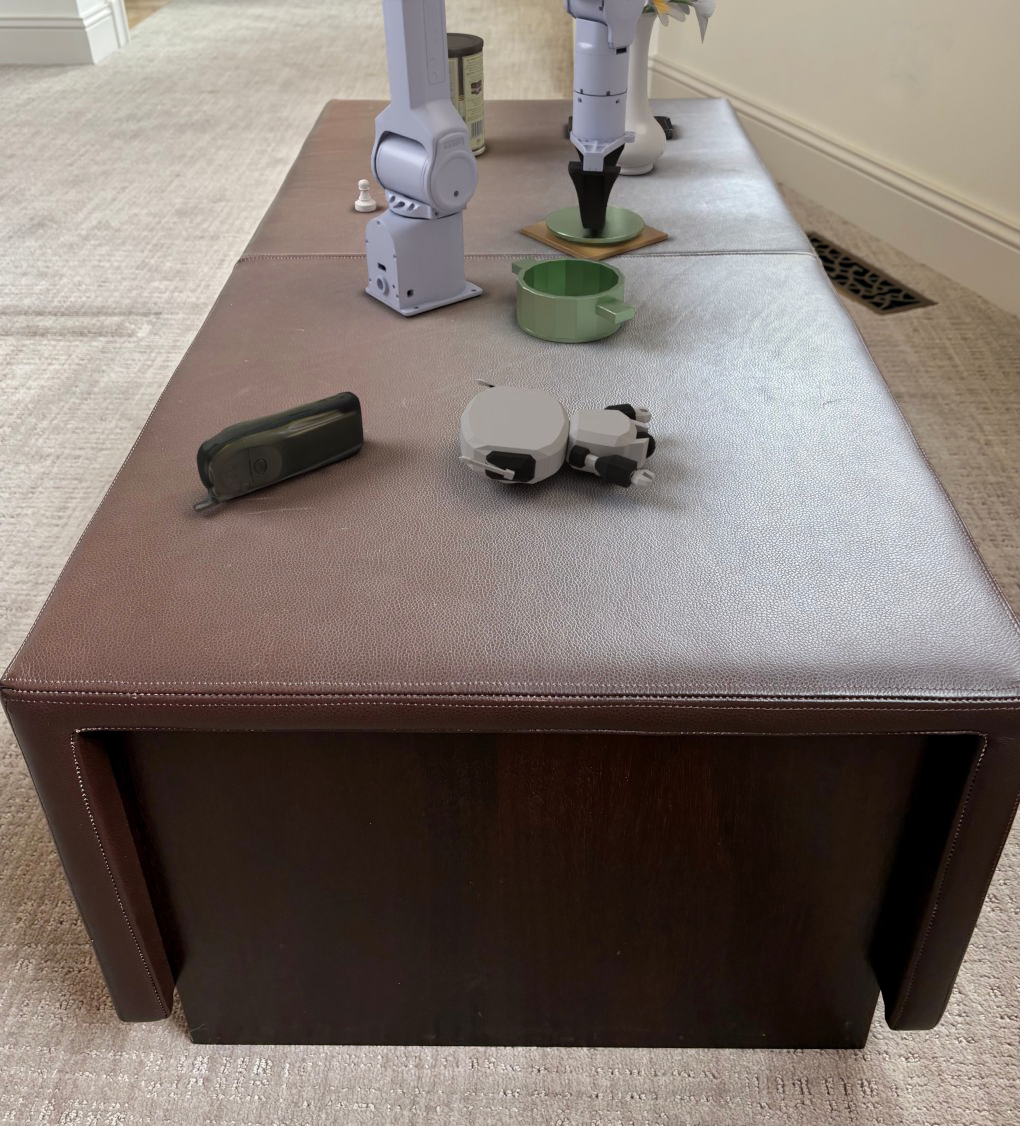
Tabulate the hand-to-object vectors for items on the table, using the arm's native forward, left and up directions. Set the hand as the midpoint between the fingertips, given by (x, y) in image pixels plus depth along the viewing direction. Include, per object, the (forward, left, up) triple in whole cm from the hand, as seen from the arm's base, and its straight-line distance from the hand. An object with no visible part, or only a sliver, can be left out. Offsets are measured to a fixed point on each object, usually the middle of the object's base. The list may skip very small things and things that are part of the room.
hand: (594, 216), depth 121 cm
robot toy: (-35, -36, -2) cm, 50 cm away
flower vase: (+21, +16, -2) cm, 27 cm away
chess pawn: (-16, +24, -2) cm, 29 cm away
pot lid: (0, 0, -1) cm, 1 cm away
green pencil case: (-53, -24, -2) cm, 58 cm away
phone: (+31, +30, -2) cm, 43 cm away
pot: (-17, -16, -2) cm, 23 cm away
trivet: (0, 0, -2) cm, 2 cm away
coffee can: (+6, +38, -2) cm, 39 cm away
